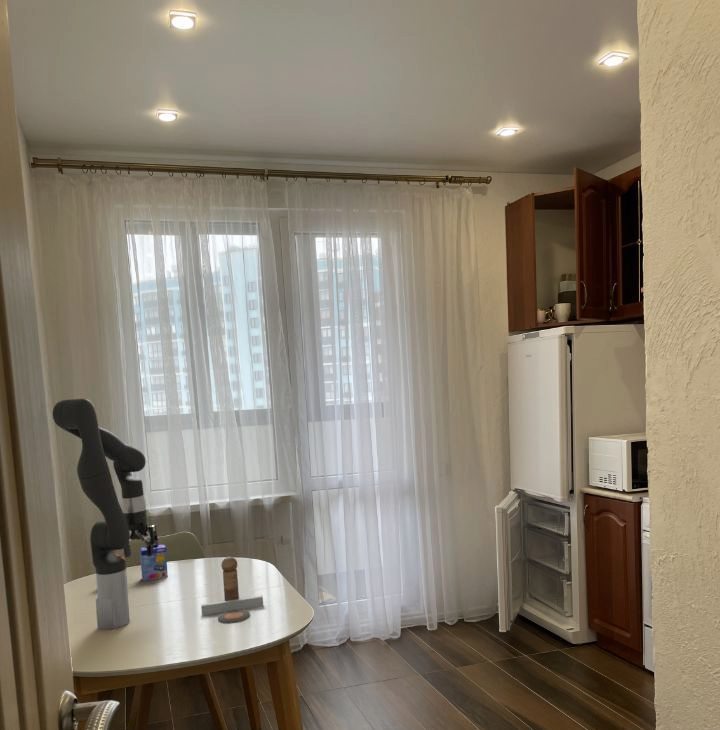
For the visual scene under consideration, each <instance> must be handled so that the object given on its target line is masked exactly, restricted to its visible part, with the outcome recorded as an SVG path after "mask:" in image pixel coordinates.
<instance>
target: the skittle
mask: <svg viewBox="0 0 720 730" xmlns="http://www.w3.org/2000/svg"><path fill="white" fill-rule="evenodd" d="M220 565H221V569H222V580H223V581H222V582H223V593H224V601H229V600H236V599H240V594H239V593H240V592H239V581H238V580H239V579H238V569H237V568H238V561H237V559H236V558H235V557H233V556H227V557H224V559H222V561H221V563H220Z"/></svg>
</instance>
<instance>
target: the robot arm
mask: <svg viewBox="0 0 720 730" xmlns="http://www.w3.org/2000/svg"><path fill="white" fill-rule="evenodd" d="M52 418H53V421H54V423H55V425H56V426H58V428H61V429H62V430H64V431H65V432H67V433H69V434H71V435H73V436H75V437H77V438H79V439H81V445H82V446H81V447H82V448H81V452H80V456H79V459H78V462H77V466H76V474H77V477H78V480H79V483H80V487H81V490H82V492H83V494H84V495H85V496H86V497H87V498H88V499H89V500H90V502H91V503H92V504H94V505H95V506H96V507H97V509H98V510H99V511H100V512H101V514H102V516H103V518H104V520H99V521H97V522H96V523H94V524H93V525H92V528H91V530H90V536H89V539H90V540H89V542H90V549H91V557H92V564H93V566H94V568H95V576H96V577H95V578H96V591H97V597H96V598H95V608H96V622H97V623H96V625H97V627H96V628H97V629H98V630H115V629H118V628H122V627H124V626H126V625H128V624H129V623H130V622H131V620H130V619H131V618H130V604H129V603H130V601H129V593H128V592H129V590H128V573H127V568H126V564H127V562H126V559H125V558H129V557H132V556H131V555H132V551H131V545H130V544H131V541H132V540H141V541H142V542H144V544H145V547H147V556H148V557H151V556H152V555H153V553H154V550H153V545H155V544H154V543H156V542H158V543H159V539H158V533H157V527H156V526H157V525H155V524H153V525H148V523H147V522H148V517H147V516H148V514H147V508H146V507H147V504H146V499H145V493H144V484H143V480H142V479H141V478H139V477H134V476H133V475H132V473H137V472H140V471H142V470H143V469H144V468H145V466H146V463H147V461H146V457H145V455H144V453H143V452H142V451H141V450H139V449H138V448H135V447H133V446H131V445H130V444H127V443H125V442H124V441H122V439H120V438H119V437H118V436H117V435H115V434H114V433H112V431H109V430H108V429H105V428H103V427H100V426H99V421H98V416H97V411H96V408H95V406H94V404H93V402H92V401H91V400H89V399H88V398H71V399H62V400H60V401H58V402H57V403H56V404H55V405H54V407H53V409H52ZM107 459H108V460H110V461H112V462H113V463H112V464H113V465H112V467H113V469H114V473H115V475H116V477H117V480H118V483H119V485H120V488H121V489H120V491H121V498H122V500H121V501H122V502H121V503H120V502H119V499H118V495H117V493H116V490H115V486H114V483H113V478H112V474H111V472H110V467H109V465H108V461H107ZM121 505H122V507H121ZM113 550H116V551H117V550H118V551H119V550H123V555H124V557H125V558H124V557H123V558H124V559H125V560H124V559H123V558H121V557H119V556H120V555H119V556H117V555H118V554H117V553H116V552H115V553H116V554H117V555H116V554H115V553H114V552H113Z"/></svg>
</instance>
